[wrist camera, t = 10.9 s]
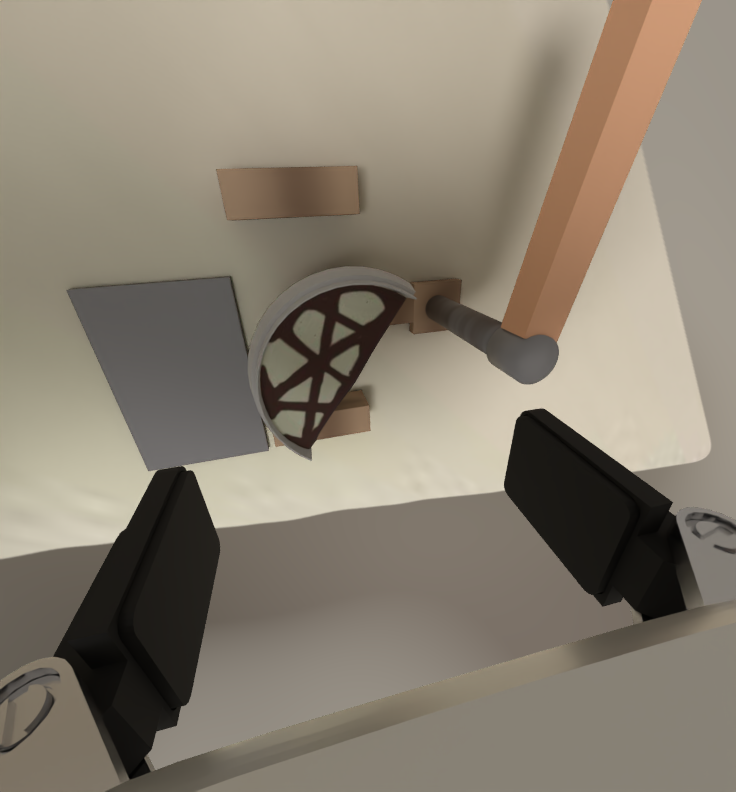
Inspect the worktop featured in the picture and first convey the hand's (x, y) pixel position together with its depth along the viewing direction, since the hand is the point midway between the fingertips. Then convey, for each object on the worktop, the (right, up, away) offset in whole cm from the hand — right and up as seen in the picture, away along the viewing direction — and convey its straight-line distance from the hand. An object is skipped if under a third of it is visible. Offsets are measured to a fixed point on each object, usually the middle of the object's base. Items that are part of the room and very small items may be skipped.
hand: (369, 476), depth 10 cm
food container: (-5, +9, +17) cm, 20 cm away
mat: (-14, +4, +17) cm, 22 cm away
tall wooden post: (+9, +11, +6) cm, 16 cm away
